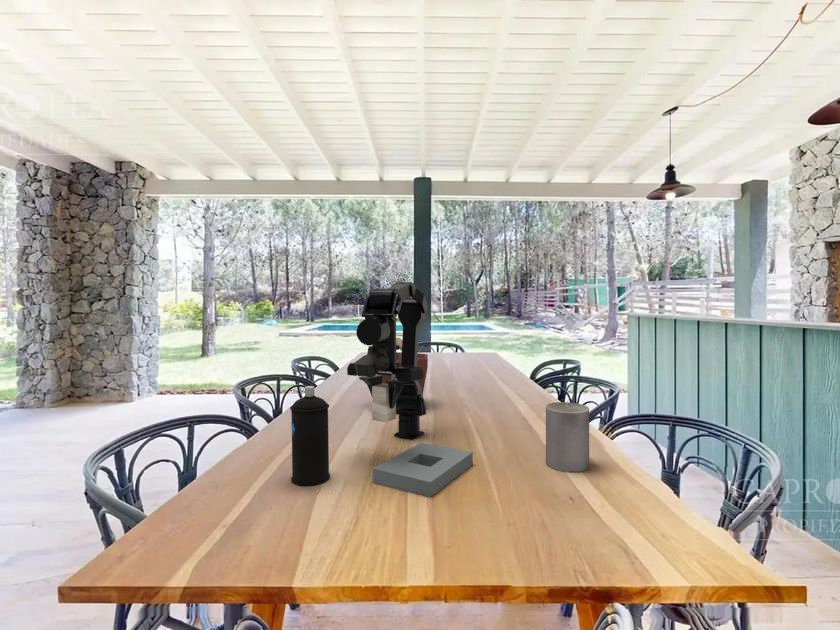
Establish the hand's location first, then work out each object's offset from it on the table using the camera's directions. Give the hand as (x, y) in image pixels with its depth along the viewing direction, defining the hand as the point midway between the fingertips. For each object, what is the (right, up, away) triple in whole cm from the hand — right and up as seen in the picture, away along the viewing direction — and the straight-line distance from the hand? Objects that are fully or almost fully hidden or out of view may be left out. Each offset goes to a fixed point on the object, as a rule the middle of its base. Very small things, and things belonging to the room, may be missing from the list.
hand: (384, 407), depth 107 cm
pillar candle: (+43, -13, -2) cm, 45 cm away
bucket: (0, -11, +54) cm, 55 cm away
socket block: (+10, -13, -6) cm, 18 cm away
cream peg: (0, -3, 0) cm, 3 cm away
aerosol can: (-15, -14, -9) cm, 22 cm away
